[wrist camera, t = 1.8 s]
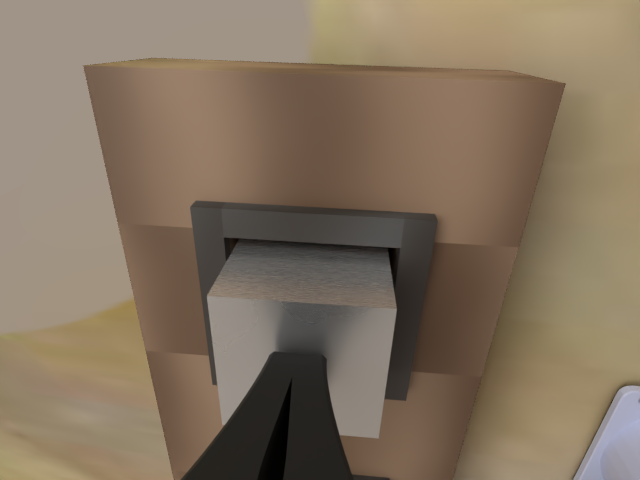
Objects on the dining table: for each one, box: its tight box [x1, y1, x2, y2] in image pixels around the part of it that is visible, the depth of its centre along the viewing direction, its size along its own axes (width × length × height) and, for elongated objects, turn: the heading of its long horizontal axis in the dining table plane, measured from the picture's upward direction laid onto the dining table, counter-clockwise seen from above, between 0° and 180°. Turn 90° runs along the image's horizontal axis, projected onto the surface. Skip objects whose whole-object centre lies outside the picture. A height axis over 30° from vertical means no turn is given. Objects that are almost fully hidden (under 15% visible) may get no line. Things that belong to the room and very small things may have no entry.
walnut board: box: [84, 58, 565, 480], centre depth 17 cm, size 12×26×4 cm, turn 178°
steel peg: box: [207, 238, 397, 438], centre depth 12 cm, size 4×4×4 cm
